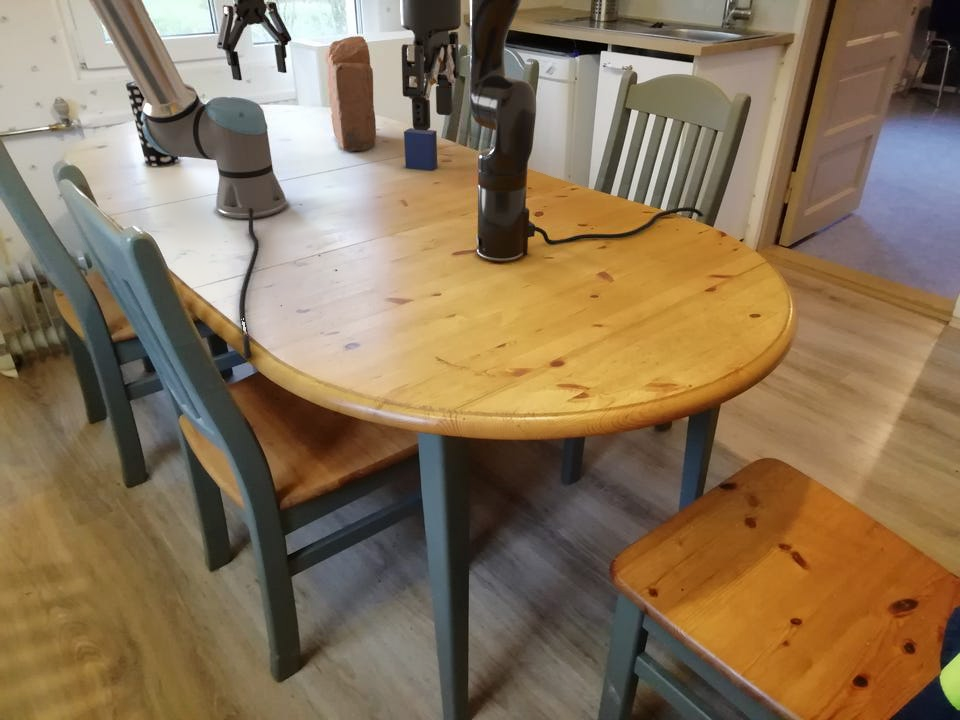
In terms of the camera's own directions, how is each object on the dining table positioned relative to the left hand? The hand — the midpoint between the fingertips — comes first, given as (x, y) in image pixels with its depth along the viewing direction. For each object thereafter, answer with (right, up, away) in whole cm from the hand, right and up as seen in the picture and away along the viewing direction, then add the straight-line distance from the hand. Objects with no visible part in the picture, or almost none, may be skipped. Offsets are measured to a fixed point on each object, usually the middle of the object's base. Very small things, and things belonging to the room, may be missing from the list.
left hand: (260, 76), depth 175 cm
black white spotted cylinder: (-30, -10, +6) cm, 32 cm away
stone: (+19, -8, +29) cm, 36 cm away
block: (+40, -20, +10) cm, 46 cm away
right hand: (+50, -40, -82) cm, 104 cm away
